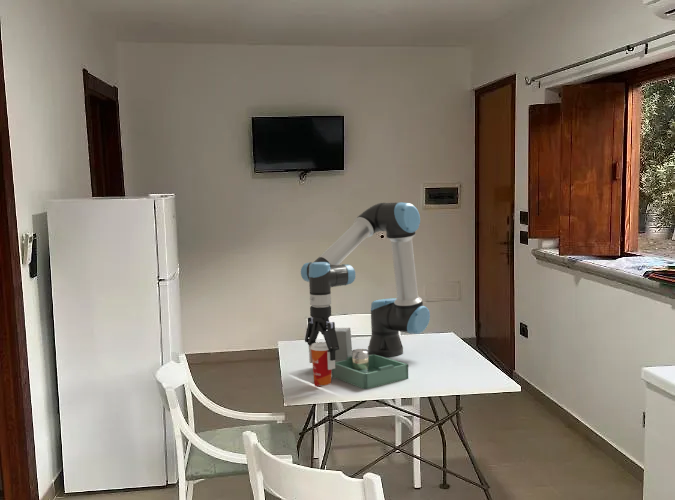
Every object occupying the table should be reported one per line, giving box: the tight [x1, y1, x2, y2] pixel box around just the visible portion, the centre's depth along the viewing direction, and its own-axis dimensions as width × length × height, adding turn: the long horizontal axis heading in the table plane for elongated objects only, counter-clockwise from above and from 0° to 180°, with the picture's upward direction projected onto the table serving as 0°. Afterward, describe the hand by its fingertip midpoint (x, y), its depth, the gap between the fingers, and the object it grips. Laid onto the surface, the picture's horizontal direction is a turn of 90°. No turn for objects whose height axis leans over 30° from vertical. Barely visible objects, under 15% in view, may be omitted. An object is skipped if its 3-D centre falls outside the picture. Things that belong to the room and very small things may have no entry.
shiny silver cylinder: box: [352, 348, 369, 373], centre depth 245 cm, size 6×6×9 cm
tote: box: [331, 354, 409, 390], centre depth 241 cm, size 20×20×7 cm
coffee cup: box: [310, 341, 332, 388], centre depth 236 cm, size 8×8×15 cm
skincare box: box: [335, 327, 353, 362], centre depth 257 cm, size 8×7×16 cm
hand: (322, 365), depth 236 cm, fingers open, 11 cm apart
